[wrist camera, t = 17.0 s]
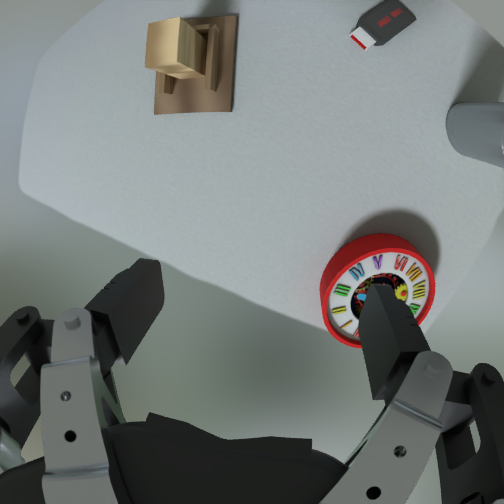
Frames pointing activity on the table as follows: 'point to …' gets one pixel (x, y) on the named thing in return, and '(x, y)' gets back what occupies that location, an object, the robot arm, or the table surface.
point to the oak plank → (176, 49)
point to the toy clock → (373, 282)
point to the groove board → (216, 76)
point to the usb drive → (382, 24)
